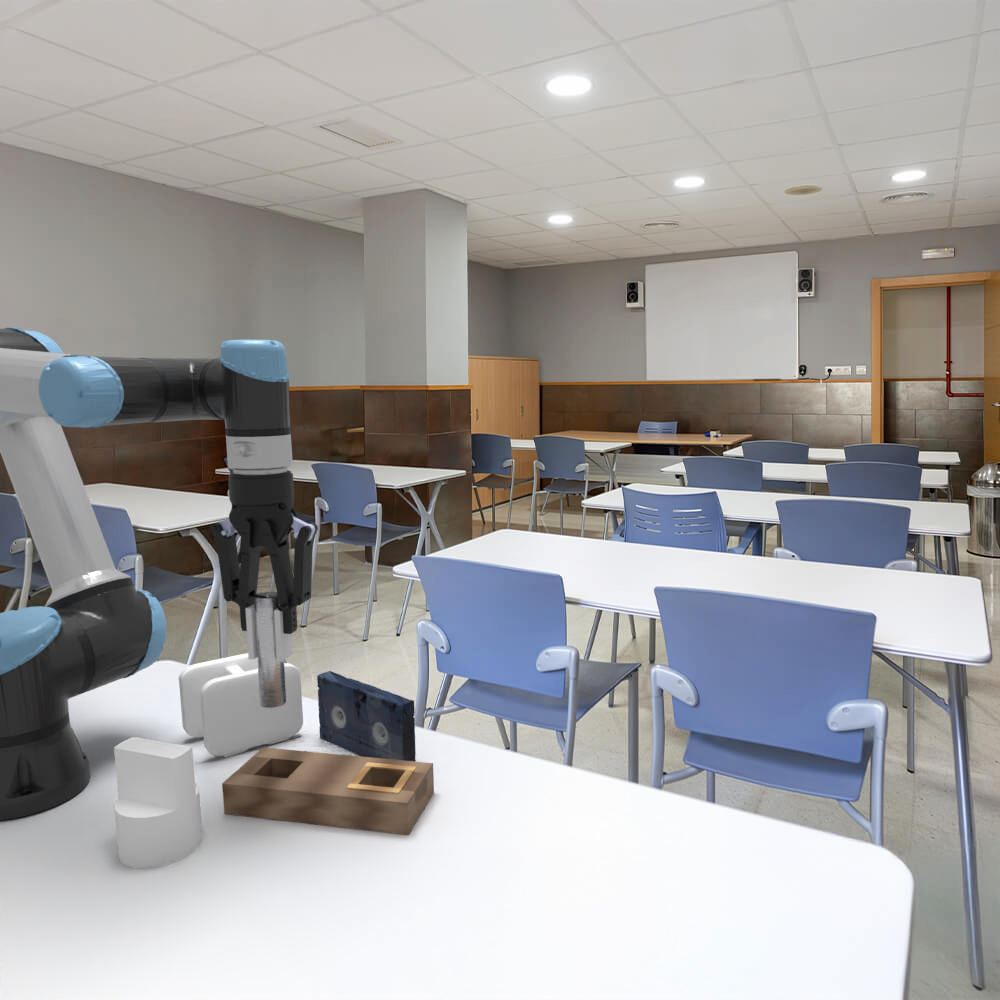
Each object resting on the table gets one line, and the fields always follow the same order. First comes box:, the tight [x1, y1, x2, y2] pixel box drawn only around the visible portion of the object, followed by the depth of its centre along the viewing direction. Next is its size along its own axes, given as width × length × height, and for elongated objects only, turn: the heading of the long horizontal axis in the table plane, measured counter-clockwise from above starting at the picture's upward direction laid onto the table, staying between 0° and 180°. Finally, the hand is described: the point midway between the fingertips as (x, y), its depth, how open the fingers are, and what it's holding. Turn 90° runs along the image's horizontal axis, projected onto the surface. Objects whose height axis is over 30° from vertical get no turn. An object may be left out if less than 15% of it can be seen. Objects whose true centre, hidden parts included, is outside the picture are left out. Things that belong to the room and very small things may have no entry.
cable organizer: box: [178, 652, 304, 758], centre depth 121 cm, size 15×11×12 cm
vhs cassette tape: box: [316, 670, 417, 762], centre depth 115 cm, size 18×3×10 cm, turn 49°
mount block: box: [221, 747, 435, 836], centre depth 102 cm, size 24×10×4 cm, turn 77°
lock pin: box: [254, 591, 286, 708], centre depth 101 cm, size 3×3×14 cm
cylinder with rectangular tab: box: [113, 736, 203, 869], centre depth 93 cm, size 9×9×12 cm
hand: (270, 656), depth 101 cm, fingers closed on lock pin, 3 cm apart
